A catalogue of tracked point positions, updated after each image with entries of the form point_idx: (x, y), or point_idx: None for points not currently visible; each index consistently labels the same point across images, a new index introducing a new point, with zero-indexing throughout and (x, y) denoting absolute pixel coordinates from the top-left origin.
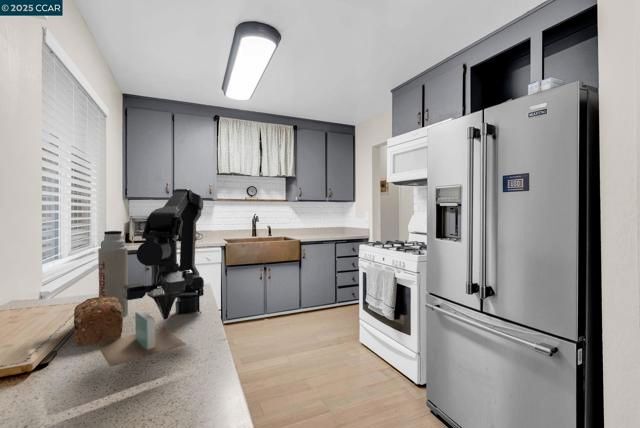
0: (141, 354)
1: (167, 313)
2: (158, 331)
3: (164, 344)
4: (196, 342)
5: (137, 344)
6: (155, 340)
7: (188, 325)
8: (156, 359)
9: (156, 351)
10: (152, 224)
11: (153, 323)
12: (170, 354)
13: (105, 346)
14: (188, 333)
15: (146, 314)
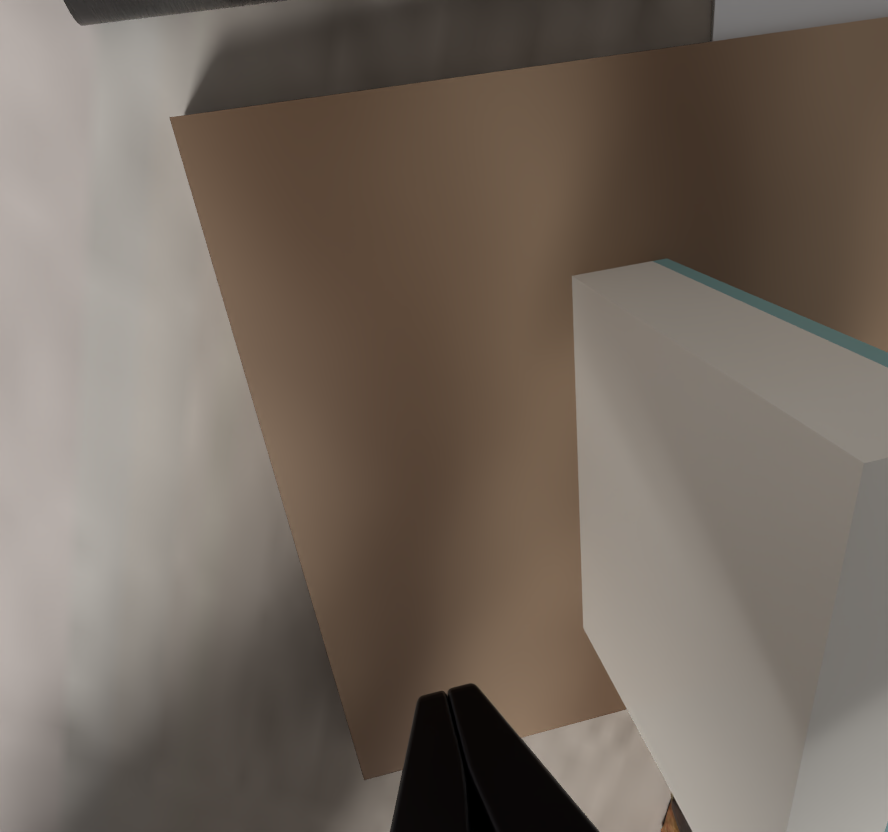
0: (754, 130)
1: (445, 779)
2: None
3: (455, 300)
4: (18, 270)
5: None
6: (514, 481)
7: (104, 803)
8: (589, 9)
9: (593, 110)
10: None
11: (807, 401)
12: (411, 58)
13: None
14: (117, 607)
15: (824, 784)
